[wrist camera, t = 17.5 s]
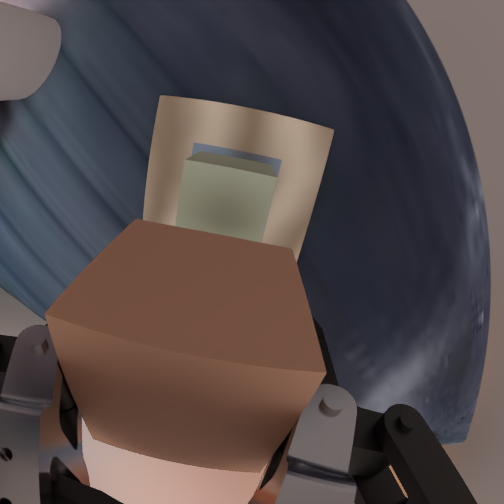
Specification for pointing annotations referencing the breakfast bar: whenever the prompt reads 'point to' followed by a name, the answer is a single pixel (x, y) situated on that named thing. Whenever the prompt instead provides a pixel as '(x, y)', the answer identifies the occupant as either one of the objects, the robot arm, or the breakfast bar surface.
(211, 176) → the sage block
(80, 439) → the robot arm
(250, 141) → the board
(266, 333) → the terracotta block
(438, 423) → the breakfast bar surface
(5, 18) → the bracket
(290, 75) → the breakfast bar surface
